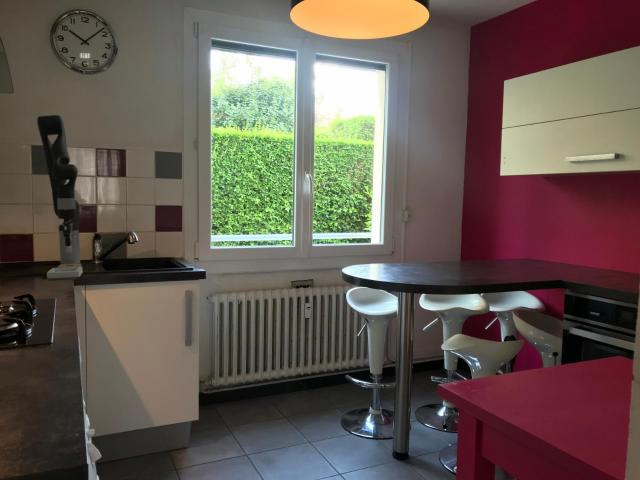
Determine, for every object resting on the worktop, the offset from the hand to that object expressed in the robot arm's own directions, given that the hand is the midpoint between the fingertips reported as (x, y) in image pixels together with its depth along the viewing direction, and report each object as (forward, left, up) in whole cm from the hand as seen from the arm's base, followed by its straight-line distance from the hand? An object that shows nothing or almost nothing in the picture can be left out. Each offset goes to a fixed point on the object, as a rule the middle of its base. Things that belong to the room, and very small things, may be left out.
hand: (68, 245), depth 243 cm
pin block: (0, 0, -13) cm, 13 cm away
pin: (0, 0, -4) cm, 4 cm away
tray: (+12, 0, -13) cm, 18 cm away
